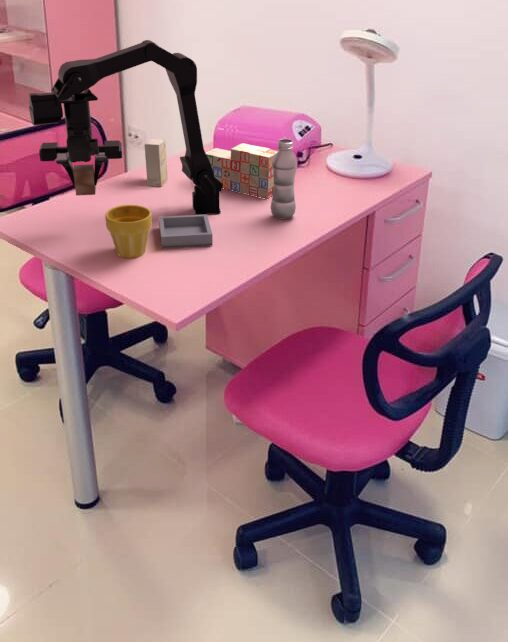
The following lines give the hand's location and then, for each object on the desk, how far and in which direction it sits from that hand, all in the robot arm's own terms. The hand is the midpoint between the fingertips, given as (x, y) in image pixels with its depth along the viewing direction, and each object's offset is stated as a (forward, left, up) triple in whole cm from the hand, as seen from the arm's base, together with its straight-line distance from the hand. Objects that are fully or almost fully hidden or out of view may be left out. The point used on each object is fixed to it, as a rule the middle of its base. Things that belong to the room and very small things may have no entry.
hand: (85, 185), depth 174 cm
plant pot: (-10, +15, -11) cm, 21 cm away
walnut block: (0, 0, -2) cm, 2 cm away
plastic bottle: (-49, -1, -11) cm, 50 cm away
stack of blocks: (-41, -23, -12) cm, 48 cm away
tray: (-23, +8, -11) cm, 27 cm away
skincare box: (-18, -30, -11) cm, 37 cm away
